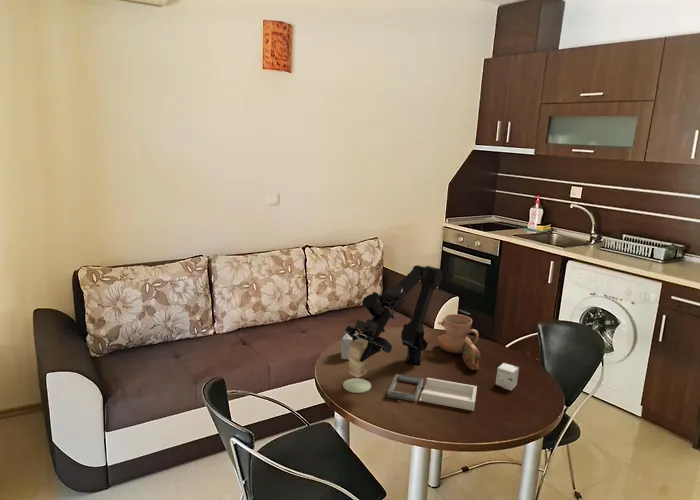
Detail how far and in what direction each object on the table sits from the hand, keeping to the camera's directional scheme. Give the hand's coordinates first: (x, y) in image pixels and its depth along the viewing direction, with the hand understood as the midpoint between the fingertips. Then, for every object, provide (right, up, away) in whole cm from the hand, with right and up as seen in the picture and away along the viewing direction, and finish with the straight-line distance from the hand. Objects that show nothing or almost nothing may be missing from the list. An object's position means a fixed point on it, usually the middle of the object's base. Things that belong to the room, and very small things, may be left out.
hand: (355, 359), depth 180 cm
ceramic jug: (+43, -5, +39) cm, 58 cm away
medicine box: (-3, -5, +29) cm, 29 cm away
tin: (+46, -8, +24) cm, 53 cm away
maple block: (+1, -6, +2) cm, 6 cm away
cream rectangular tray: (+32, -13, -3) cm, 35 cm away
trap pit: (+18, -12, +1) cm, 21 cm away
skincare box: (+55, -12, +8) cm, 57 cm away
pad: (+1, -10, +3) cm, 11 cm away
